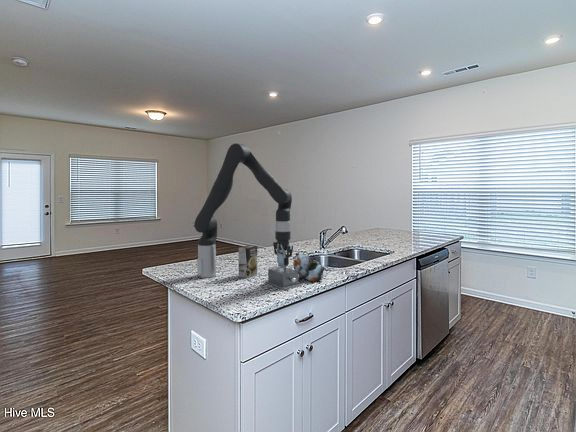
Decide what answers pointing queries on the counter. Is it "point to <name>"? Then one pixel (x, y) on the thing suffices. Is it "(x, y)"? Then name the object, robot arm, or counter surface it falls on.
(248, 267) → the coffee box
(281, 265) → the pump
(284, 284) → the motor
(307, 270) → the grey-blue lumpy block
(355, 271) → the counter surface
